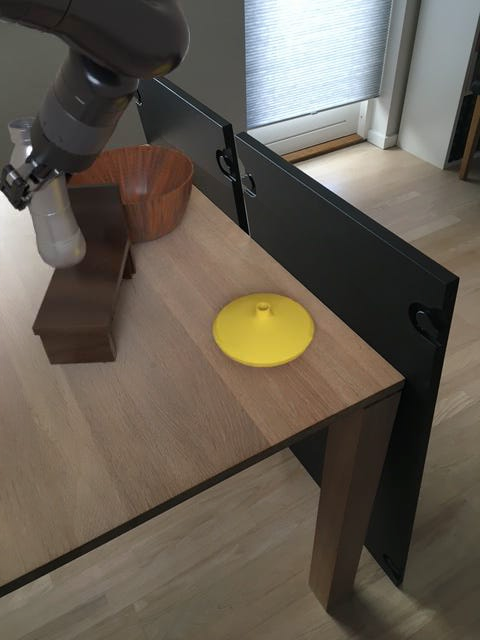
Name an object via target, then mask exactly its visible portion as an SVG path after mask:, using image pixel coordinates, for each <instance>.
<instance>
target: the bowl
mask: <svg viewBox="0 0 480 640" xmlns="http://www.w3.org/2000/svg"><path fill="white" fill-rule="evenodd" d="M193 181H194V163H193V162H192V160H191V157H189V156H187V155H186V154H184V153H183V152H182V151H179V150H176V149H173V148H170V147H166V146H160V145H145V144H144V145H141V144H140V145H129V146H121V147H117V148H112V149H108V150H104V151H101V153H100V154H99V156H98V157H97V159H96V160H95V162H94V163H93V165H92V166H91V167H90V168H88V169H87V170H85V171H82V172H79V173H78V174H77V175H74V176H72V178H71V179H70V181H69V183H68V184H67V185H75V184H97V183H119V188H120V193H121V198H122V203H123V208H124V212H125V217H126V222H127V227H128V232H129V237H130V241H131V244H137V243H138V244H139V243H145V242H150V241H154V240H157V239H159V238H161V237H164V236H165V235H167V234H169V233H170V232H172V231H173V230H174V229H175V228H176V227H177V226H178V225H179V224H180V223H181V221H182V219H183V218H184V215H185V213H186V212H187V209H188V206H189V202H190V199H191V195H192V189H193Z"/></svg>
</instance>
